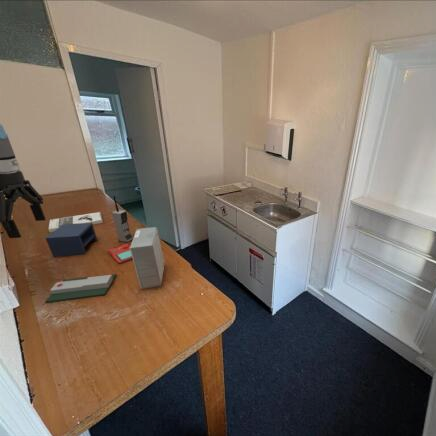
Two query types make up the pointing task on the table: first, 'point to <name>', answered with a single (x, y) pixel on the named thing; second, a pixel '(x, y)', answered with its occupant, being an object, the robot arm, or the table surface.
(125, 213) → the vintage mobile phone
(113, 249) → the handheld gaming console
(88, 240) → the navy slotted box
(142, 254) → the hard drive box
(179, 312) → the table surface
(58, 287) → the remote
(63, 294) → the mat
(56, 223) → the book
